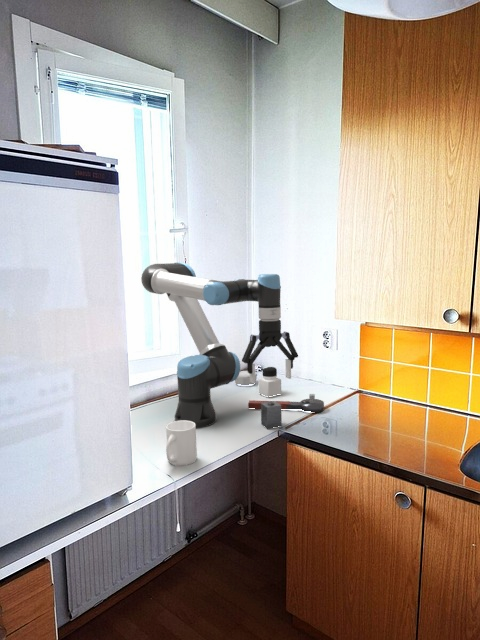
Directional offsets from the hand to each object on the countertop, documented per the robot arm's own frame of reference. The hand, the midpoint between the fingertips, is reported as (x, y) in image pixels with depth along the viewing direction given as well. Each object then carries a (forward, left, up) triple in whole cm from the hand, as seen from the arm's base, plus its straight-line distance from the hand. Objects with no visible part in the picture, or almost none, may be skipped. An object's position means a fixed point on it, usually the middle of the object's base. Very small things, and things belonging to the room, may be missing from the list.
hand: (270, 380), depth 161 cm
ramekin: (-17, +52, -17) cm, 57 cm away
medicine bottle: (-4, +36, -17) cm, 40 cm away
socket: (0, 0, -16) cm, 16 cm away
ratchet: (+4, +18, -16) cm, 25 cm away
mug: (-24, -32, -17) cm, 43 cm away
